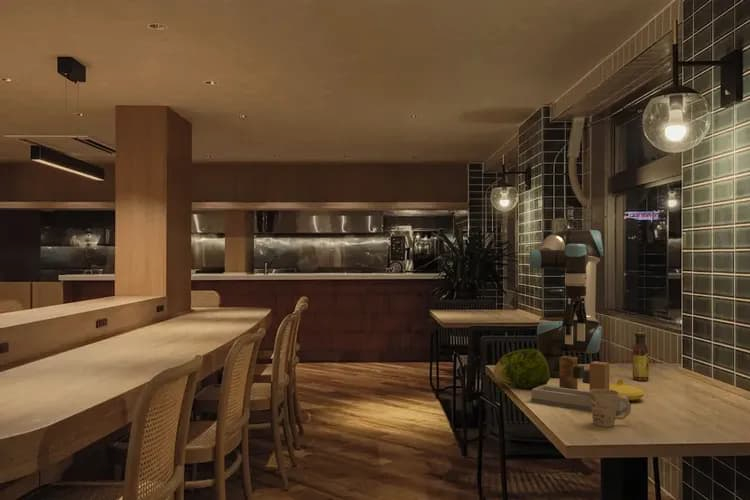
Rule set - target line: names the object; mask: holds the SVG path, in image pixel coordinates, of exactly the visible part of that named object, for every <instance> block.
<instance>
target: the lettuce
mask: <svg viewBox="0 0 750 500" xmlns="http://www.w3.org/2000/svg"><path fill="white" fill-rule="evenodd" d="M493 374H494V375H493V376H494V378H495V379H496V381H497V382H498V383H500V384H504V385H507V386H509V387H513V388H518V389H519V388H520V389H534V388H536V387H539V386H541V385H545V386H546V385H547V384H548V382H549V381H550V380H551V379H550V372H549V368H548V364H547V361H546V359H545V357H544V356H543V354H542V353H541V352H540V351H539V350H537V348H522V349H518V350H514V351H511V352H507V353H505V354H504V355H503V356H501V358H500V359H499V361H497V363H496V365H495V366H494V369H493Z"/></svg>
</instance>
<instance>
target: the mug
mask: <svg viewBox="0 0 750 500" xmlns="http://www.w3.org/2000/svg"><path fill="white" fill-rule="evenodd" d="M588 391H589V390H588ZM589 393H590V401H591V409H592V411H591V416H592V423H593V425H594V424H595V425H594V426H598V427H603V428H604V427H605V428H610V427H611V426H612V427H614V426H615V421H616V420H624V419H626V418H627V417H628V416H629V415H630V413H631V410H632V406H631V401H628V400H627V399H626V398H624V397H618V392H617V391H614V390H608V389H591V390H590V391H589ZM618 401H623V402H624V403H625V404H626V406H627V410H626V412H624V413H623V414H622V415H621V416H618V415H616V409H617V402H618ZM612 427H611V428H612Z"/></svg>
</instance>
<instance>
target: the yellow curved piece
mask: <svg viewBox="0 0 750 500" xmlns="http://www.w3.org/2000/svg"><path fill="white" fill-rule="evenodd" d="M616 381H617V382H616V383H614V384H609V390H614V391H617V392H618V395H620V396H627V397H628V401H629V402H631V401H632V402H633V401H637V400H639V399H643V397H644V395H645V392H644V391H643V389H641V388H638V387H635V386H631V385H628V384H627V385H626V384H625V380H624V379H622V378H621V379H620V378H619V379H617V380H616Z"/></svg>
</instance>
